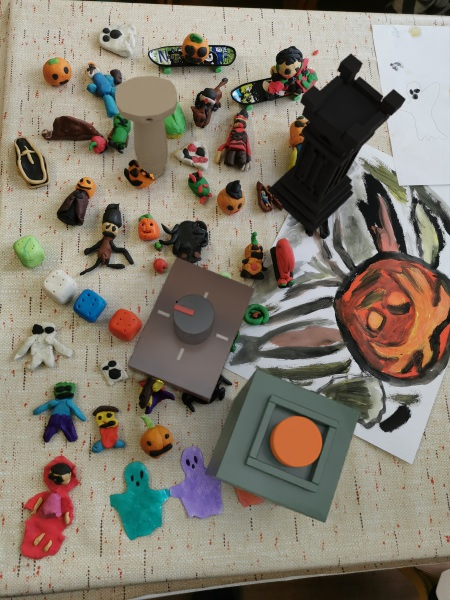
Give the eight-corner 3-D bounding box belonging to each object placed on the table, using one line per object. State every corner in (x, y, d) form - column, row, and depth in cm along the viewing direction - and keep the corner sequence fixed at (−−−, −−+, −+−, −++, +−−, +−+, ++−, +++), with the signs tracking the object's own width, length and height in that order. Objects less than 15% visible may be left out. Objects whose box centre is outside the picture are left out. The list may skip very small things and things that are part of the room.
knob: (217, 314, 64) (220, 301, 59) (204, 350, 63) (206, 339, 58) (181, 301, 64) (181, 287, 59) (167, 336, 63) (166, 325, 58)
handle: (126, 155, 73) (113, 78, 58) (175, 151, 73) (174, 74, 59) (130, 188, 71) (117, 118, 57) (180, 183, 72) (179, 113, 58)
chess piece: (266, 192, 73) (296, 94, 54) (307, 155, 75) (350, 48, 56) (311, 233, 71) (358, 148, 52) (351, 195, 73) (411, 99, 54)
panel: (209, 402, 64) (210, 399, 61) (129, 369, 65) (126, 365, 62) (252, 295, 68) (255, 287, 65) (176, 265, 69) (176, 256, 66)
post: (280, 506, 62) (330, 525, 41) (204, 474, 62) (216, 477, 41) (306, 428, 64) (366, 409, 43) (233, 398, 65) (258, 365, 44)
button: (308, 474, 41) (313, 474, 40) (263, 456, 42) (266, 455, 40) (323, 428, 43) (328, 427, 41) (279, 410, 43) (283, 408, 41)
